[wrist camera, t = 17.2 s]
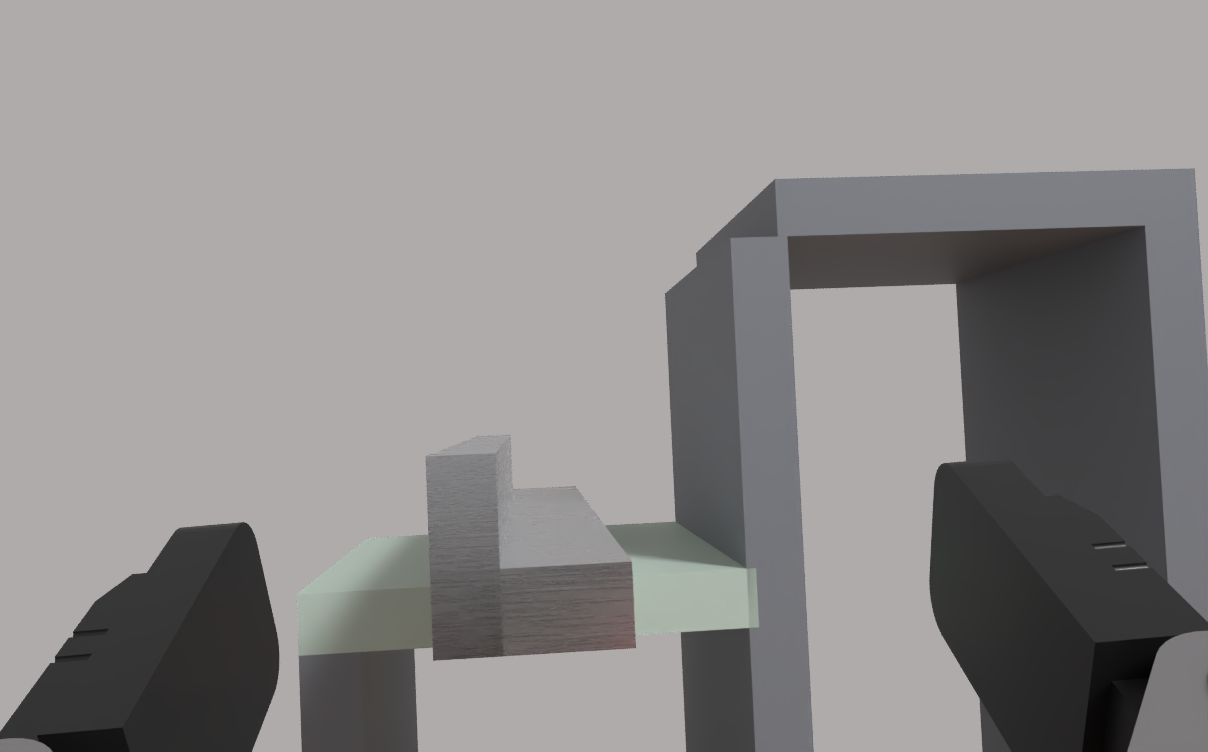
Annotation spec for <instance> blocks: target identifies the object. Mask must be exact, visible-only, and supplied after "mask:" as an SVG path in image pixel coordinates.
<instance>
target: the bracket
mask: <svg viewBox="0 0 1208 752" xmlns="http://www.w3.org/2000/svg"><path fill="white" fill-rule="evenodd" d="M426 479H427V504H428V531H429V532H428V533H429V560H430V586H431V613H432V640H433V660H451V659H467V658H483V657H497V656H498V657H499V656H515V655H531V654H547V653H564V652H578V651H595V650H610V649H611V650H612V649H626V648H627V649H628V648H636V642H635V617H634V594H633V572H632V561H631V559H630V558H629V557H628V556H627V554H626V553H625V552H624V550H623V549H622V548H621V546H620V545H619V544H618V542H617V541H616V540H615V538H614V537H613V536H612V534H611V533H610V532H609V530H608V529H607V528H606V526H605V525H604V524H603V522H602V521H601V520H600V519H599V517H598V516H597V514H596V513H595V512H594V510H593V509H592V508H591V507H590V505H589V504H588V502H587V501H586V500H585V498H584V497H583V496H582V495H581V493H580V492H579V491H578V489H577V488H576V487H575V486H571V487H552V488H531V489H513V488H512V463H511V438H510V435H493V436H477V437H474V438H472V439H469V440H466V441H464V442H462V443H459V444H456V445H454V446H451V447H449V448H446V449H443V450H441V451H438V452H436V453H433V454H431V455H428V456H426Z"/></svg>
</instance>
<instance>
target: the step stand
mask: <svg viewBox="0 0 1208 752" xmlns="http://www.w3.org/2000/svg"><path fill="white" fill-rule="evenodd" d="M1199 245H1200V244H1199V229H1198V213H1197V198H1196V183H1195V169H1161V170H1159V169H1158V170H1120V171H1080V172H1079V171H1078V172H1039V173H1001V174H962V175H961V174H960V175H922V176H921V175H920V176H885V177H884V176H880V177H845V178H844V177H842V178H804V179H803V178H801V179H775V180H774V181H773V182H772V183H770V184H769V185H768V186H767V187H766V188H765V189H764V190H763V191H762V192H761V193H760V194H759V195H758V196H757V197H756V198H755V199H753V200H752V201H751V202H750V203H749V204H748V205H747V206H746V207H745V208H744V209H743V210H742V211H740V213H738V214H737V215H736V216H735V217H734V218H733V219H732V220H731V221H730V222H729V223H728V224H727V225H726V226H724V227H723V228H722V229H721V230H720V231H719V232H718V233H717V234H716V235H715V236H714V237H713V238H712V239H711V240H710V241H708V243H706V244H705V245H704V246H703V247H702V248H701V249H700V250H699V251H698V252H697V253H696V257H697V267H696V268H695V269H694V270H692V271H691V272H690V273H689V274H688V275H686V277H684V278H683V279H682V280H681V281H679V282H678V283H677V284H676V285H675V286H674V287H672V288H671V289H670V290H669V291H668V292H667V293H665V301H666V320H667V321H666V322H667V344H668V364H669V386H670V409H671V429H672V449H673V474H674V495H675V516H676V522H663V523H643V524H624V525H605V526H606V528H607V529H608V530H609V532H610V533H611V534H612V536H613V537H614V538H615V540H616V541H617V542H618V544H619V545H620V546H621V548H622V549H623V550H624V552H625V553H626V554H627V556H628V557H629V558H630V559H631V561H632V572H633V594H634V617H635V635H643V634H659V633H674V632H681V644H682V645H681V646H682V667H683V688H684V710H685V733H686V752H814V750H813V730H812V712H811V691H810V671H809V653H808V632H807V613H806V593H805V574H804V553H803V534H802V515H801V497H800V475H799V455H798V435H797V416H796V397H795V378H794V377H795V376H794V357H793V337H792V319H791V318H792V317H791V299H790V289H815V288H816V289H817V288H847V287H875V286H905V285H934V284H956V290H957V291H956V292H957V307H958V308H957V309H958V327H959V343H960V362H961V379H962V396H963V414H964V432H965V450H966V461H977V460H988V459H1000V458H1007V459H1009V460H1011V461H1012V462H1013V463H1014V464H1015V465H1016V466H1017V467H1018V468H1019V469H1020V470H1021V471H1022V472H1023V474H1024V475H1025V476H1026V477H1027V478H1028V479H1029V480H1030V481H1031V482H1032V483H1033V484H1034V485H1035V486H1036V487H1037V488H1038V489H1039V490H1040V491H1041V492H1042V493H1043V494H1044V496H1055V495H1060V496H1061V497H1063V498H1065V499H1067V500H1069V501H1071V502H1073V503H1075V504H1077V505H1079V506H1081V507H1083V508H1085V509H1087V510H1089V511H1091V512H1093V513H1095V514H1097V515H1099V516H1100V517H1101V518H1102V519H1103V520H1104V521H1105V522H1106V523H1107V524H1108V525H1109V526H1110V527H1111V528H1112V529H1113V530H1114V531H1115V532H1116V533H1117V534H1118V535H1119V536H1121V537H1122V538H1123V539H1124V540H1125V545H1126V546H1131V547H1132V548H1133V549H1134V550H1135V551H1136V552H1137V553H1138V554H1139V555H1140V556H1141V557H1142V558H1143V559H1144V560H1145V561H1146V562H1147V567H1148V568H1153V569H1154V570H1155V571H1156V572H1157V573H1158V574H1159V575H1160V576H1161V577H1162V578H1163V579H1164V580H1165V581H1166V582H1167V583H1168V584H1170V585H1171V586H1172V587H1173V588H1174V589H1175V590H1176V591H1177V592H1178V593H1179V594H1180V595H1181V596H1182V597H1183V598H1184V599H1185V600H1186V601H1187V602H1188V603H1189V604H1190V605H1191V606H1192V607H1193V608H1194V609H1195V610H1196V611H1197V612H1198V613H1199V614H1200V615H1201V616H1202V617H1203V618H1204V619H1205V620H1206V621H1207V622H1208V366H1207V351H1206V335H1205V319H1204V304H1203V291H1202V290H1203V289H1202V274H1201V260H1200V246H1199ZM297 614H298V643H299V644H298V645H299V673H300V674H299V676H300V707H301V738H302V752H418V741H417V715H416V689H415V661H414V660H415V659H414V649H416V648H431V647H432V648H433V640H432V613H431V586H430V560H429V535H416V536H398V537H378V538H368V539H366V540H365V541H364V542H362V543H361V544H360V545H359V546H358V547H356V548H355V549H354V550H352V551H351V552H350V553H349V554H347V555H346V556H345V557H344V558H342V559H341V560H340V561H338V562H337V563H336V564H335V565H333V566H332V567H331V568H330V569H328V570H327V571H326V572H325V573H323V574H322V575H321V576H319V577H318V578H317V579H316V580H314V581H313V582H312V583H311V584H309V585H308V586H307V587H305V588H304V589H303V590H302V591H300V592H299V593H298V594H297ZM980 713H981V729H982V747H983V752H1011V750H1010V748H1009V747H1008V745H1007V743H1006V742H1005V740H1004V738H1003V737H1002V735H1001V733H1000V732H999V730H998V728H997V727H996V725H995V723H994V721H993V720H992V718H991V716H990V715H989V713H988V711H987V710H986V708H985V706H984V705H983V703H982V701H981V700H980Z"/></svg>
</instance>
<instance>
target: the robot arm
mask: <svg viewBox="0 0 1208 752" xmlns="http://www.w3.org/2000/svg"><path fill="white" fill-rule="evenodd" d="M930 596H931V603H932V608H933V612H934V616H935V619H936V622H937V625H938V628H939V630H940V632H941V634H942V636H943V638H944V639H945V641H946V643H947V644H948V646H949V648H950V649H951V651H952V653H953V654H954V656H955V658H956V659H957V661H958V663H959V664H960V666H961V668H962V669H963V671H964V673H965V675H966V676H967V678H968V680H969V681H970V683H971V685H972V686H973V688H974V690H975V691H976V693H977V695H978V696H979V698H980V700H981V701H982V703H983V705H984V706H985V708H986V710H987V711H988V713H989V715H990V716H991V718H992V720H993V721H994V723H995V725H996V727H997V728H998V730H999V732H1000V733H1001V735H1002V737H1003V738H1004V740H1005V742H1006V743H1007V745H1008V747H1009V748H1010V750H1011V752H1208V622H1207V621H1206V620H1205V619H1204V618H1203V617H1202V616H1201V615H1200V614H1199V613H1198V612H1197V611H1196V610H1195V609H1194V608H1193V607H1192V606H1191V605H1190V604H1189V603H1188V602H1187V601H1186V600H1185V599H1184V598H1183V597H1182V596H1181V595H1180V594H1179V593H1178V592H1177V591H1176V590H1175V589H1174V588H1173V587H1172V586H1171V585H1170V584H1168V583H1167V582H1166V581H1165V580H1164V579H1163V578H1162V577H1161V576H1160V575H1159V574H1158V573H1157V572H1156V571H1155V570H1154V569H1153V568H1148V567H1147V562H1146V561H1145V560H1144V559H1143V558H1142V557H1141V556H1140V555H1139V554H1138V553H1137V552H1136V551H1135V550H1134V549H1133V548H1132V547H1131V546H1126V545H1125V540H1124V539H1123V538H1122V537H1121V536H1119V535H1118V534H1117V533H1116V532H1115V531H1114V530H1113V529H1112V528H1111V527H1110V526H1109V525H1108V524H1107V523H1106V522H1105V521H1104V520H1103V519H1102V518H1101V517H1100V516H1099V515H1097V514H1095V513H1093V512H1091V511H1089V510H1087V509H1085V508H1083V507H1081V506H1079V505H1077V504H1075V503H1073V502H1071V501H1069V500H1067V499H1065V498H1063V497H1061V496H1060V495H1055V496H1044V494H1043V493H1042V492H1041V491H1040V490H1039V489H1038V488H1037V487H1036V486H1035V485H1034V484H1033V483H1032V482H1031V481H1030V480H1029V479H1028V478H1027V477H1026V476H1025V475H1024V474H1023V472H1022V471H1021V470H1020V469H1019V468H1018V467H1017V466H1016V465H1015V464H1014V463H1013V462H1012V461H1011V460H1009V459H1007V458H1000V459H988V460H977V461H965V462H954V463H944V464H941V465H940V466H939V468H938V470H937V473H936V476H935V483H934V500H933V519H932V539H931V558H930ZM73 633H74V634H73V638H68V640H67V641H66V642H65V644H64V645H63V647H62V648H61V649H60V651H59V652H58V654H57V655H56V656H55V663H50V664H49V666H48V667H47V668H46V670H45V671H44V673H43V674H42V675H41V677H40V678H39V679H38V681H37V682H36V684H35V685H34V686H33V688H32V689H31V690H30V692H29V693H28V694H27V696H26V697H25V699H24V700H23V701H22V703H21V704H20V706H19V707H18V709H17V710H16V711H15V712H14V714H13V715H12V716H11V718H10V719H9V721H8V722H7V723H6V725H5V726H4V727H3V729H2V730H1V731H0V752H252V750H253V747H254V744H255V742H256V739H257V737H258V734H259V731H260V729H261V726H262V723H263V721H264V718H265V716H266V713H267V711H268V708H269V705H270V703H271V700H272V698H273V695H274V692H275V689H276V685H277V680H278V673H279V645H278V637H277V632H276V627H275V623H274V618H273V613H272V609H271V605H270V600H269V596H268V591H267V586H266V582H265V578H264V573H263V568H262V564H261V559H260V555H259V550H258V546H257V542H256V538H255V535H254V533H253V531H252V529H251V527H250V526H249V525H248V524H247V523H244V522H242V523H231V524H220V525H219V524H218V525H207V526H196V527H184V528H179V529H177V530H176V531H175V532H174V534H173V535H172V536H171V538H170V539H169V541H168V542H167V544H166V545H165V547H164V548H163V550H162V551H161V553H160V554H159V556H158V557H157V559H156V560H155V562H154V563H153V564H152V566H151V567H150V569H149V570H148V572H147V573H142V574H132V575H131V576H129V577H128V578H127V579H125V580H124V581H123V582H121V583H120V584H119V585H118V586H116V587H114V588H113V589H112V590H110V591H109V592H108V593H106V594H105V595H104V596H102V597H101V598H99V599H98V600H97V601H95V603H94V604H93V605H92V607H91V608H90V610H89V611H88V612H87V614H86V615H85V616H84V618H83V619H82V620H81V622H80V623H79V624H78V626H77V627H76V629H75V630H74V631H73Z"/></svg>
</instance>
